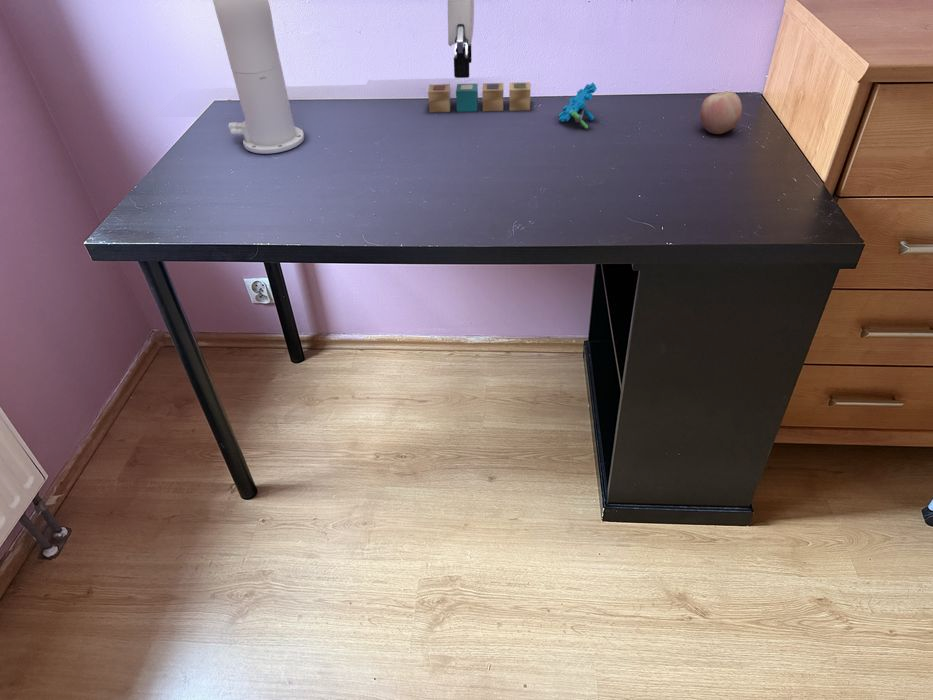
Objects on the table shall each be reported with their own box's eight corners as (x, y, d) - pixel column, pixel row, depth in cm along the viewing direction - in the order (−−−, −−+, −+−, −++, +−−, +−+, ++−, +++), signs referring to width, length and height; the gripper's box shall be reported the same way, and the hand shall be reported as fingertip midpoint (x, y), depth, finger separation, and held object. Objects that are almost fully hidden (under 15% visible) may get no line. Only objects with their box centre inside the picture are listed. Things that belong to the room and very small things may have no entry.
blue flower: (561, 101, 146) (595, 72, 139) (579, 120, 148) (613, 92, 141) (551, 128, 139) (587, 98, 132) (570, 147, 141) (606, 119, 134)
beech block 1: (429, 112, 149) (427, 91, 146) (431, 104, 152) (429, 84, 149) (449, 112, 148) (448, 90, 145) (451, 104, 152) (450, 83, 149)
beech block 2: (482, 111, 148) (482, 90, 145) (483, 103, 151) (482, 82, 148) (503, 110, 148) (503, 89, 144) (503, 103, 151) (503, 82, 148)
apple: (724, 122, 138) (732, 83, 133) (744, 136, 132) (754, 96, 127) (689, 127, 137) (697, 88, 131) (709, 142, 131) (717, 102, 126)
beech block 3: (509, 110, 147) (509, 89, 144) (509, 103, 151) (509, 82, 148) (530, 110, 147) (530, 89, 144) (529, 102, 151) (530, 81, 148)
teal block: (456, 111, 148) (455, 90, 145) (458, 104, 152) (457, 83, 149) (477, 111, 148) (476, 90, 145) (478, 103, 151) (477, 82, 148)
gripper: (445, -27, 140) (448, 57, 151) (439, -8, 127) (443, 83, 138) (481, -28, 139) (481, 57, 151) (478, -8, 126) (478, 83, 137)
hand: (463, 69), depth 144 cm, fingers open, 9 cm apart
